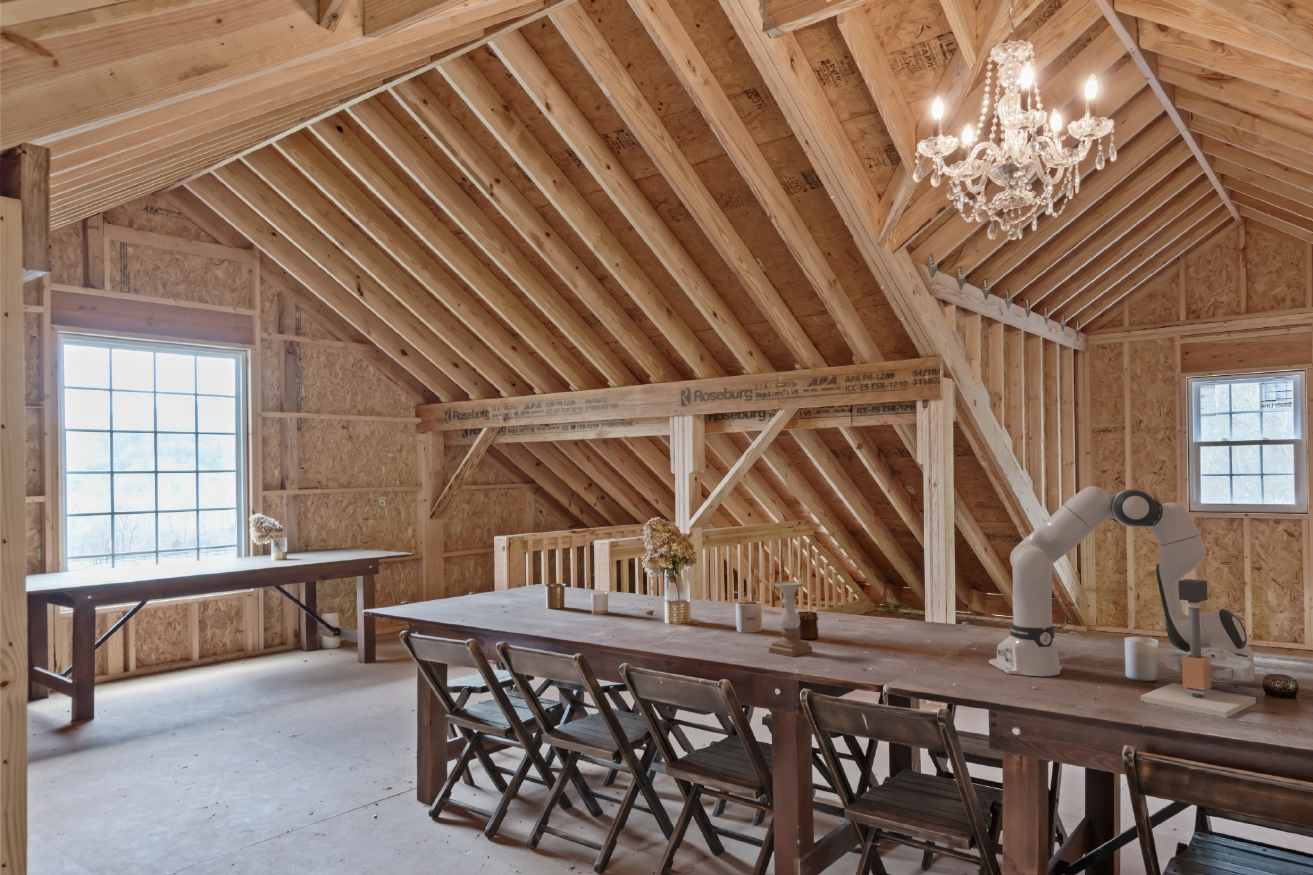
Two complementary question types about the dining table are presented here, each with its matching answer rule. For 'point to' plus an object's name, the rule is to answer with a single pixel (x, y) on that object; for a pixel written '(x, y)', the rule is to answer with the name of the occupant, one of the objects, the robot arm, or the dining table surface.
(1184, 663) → the sleeve
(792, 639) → the candle holder
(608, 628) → the dining table surface
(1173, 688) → the post
